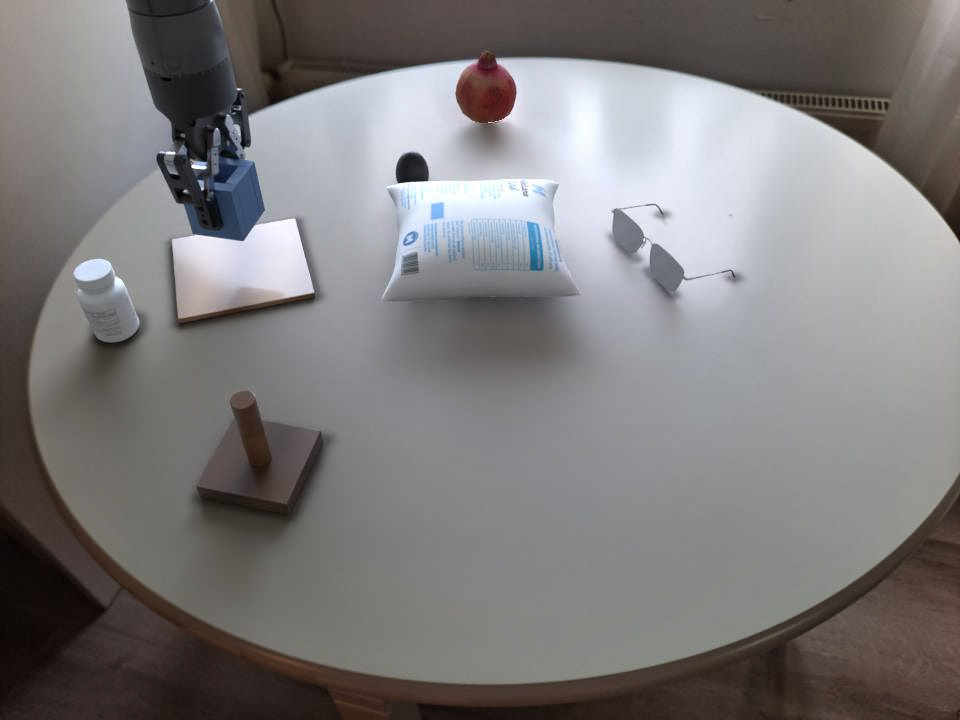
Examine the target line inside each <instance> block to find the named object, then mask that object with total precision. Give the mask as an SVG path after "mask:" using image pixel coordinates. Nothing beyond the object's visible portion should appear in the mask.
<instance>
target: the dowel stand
mask: <svg viewBox="0 0 960 720" xmlns="http://www.w3.org/2000/svg"><path fill="white" fill-rule="evenodd" d="M229 405H230V409H231V411H232V415H233V421H232V422H231V423H230V426H229V428H228V429H227V431H226V433H225V434H224V436H223V438H222V440H221V442H220V444H219V445H218V447H217V449H216V450H215V452H214V455H213V456H212V458H211V460H209V463H208V465H207V466H206V468H205V470H204V472H203V474H202V475H201V477H200V479H199V481H198V483H197V484H196V486H195V487H196V490H197V492H198V495H199V497H200V498H203V499H204V498H205V499H210V500H215V501H219V502H225V503H230V504H234V505H239V506H244V507H250V508H255V509H260V510H263V511H264V510H265V511H270V512H275V513H280V514H285V515H290V514H291V513H292V510H293V508H294V506H295V504H296V501H297V499H298V497H299V495H300V492H301V490H302V488H303V487H304V484H305V482H306V479H307V477H308V475H309V472H310V470H311V468H312V466H313V464H314V462H315V460H316V457H317V456H318V453H319V450H320V448H321V446H322V444H323V442H324V439H323V434H322V430H320V429H316V428H312V427H311V428H310V427H305V426H299V425H293V424H289V423H283V422H278V421H271V420H266V419H263V417H262V414H261V411H260V408H259V404H258V401H257V397H256V394H255V393H254V392H252V391H250V390H246V389H245V390H244V389H243V390H238V391H236V392H235V393H234V394H232V395H231V396H230V399H229Z"/></svg>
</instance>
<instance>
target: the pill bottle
mask: <svg viewBox="0 0 960 720" xmlns="http://www.w3.org/2000/svg"><path fill="white" fill-rule="evenodd" d="M73 277H74V281H75V283H76V285H77V287H78V290H77V294H76V295H77V300H78V302H79V305H80V307H81V309H82V311H83V314H84V315H85V318H86V320H87V322H88V324H89V326H90V328H91V330H92V332H93V334H94V336H95V337H96V338H97V339H98V340H99V341H101V342H104V343H119V342H123V341H125V340H128V339H129V338H130V337H132V336H133V335H134V334H136V332H137V331H138V330H139V327H140V319H139V316H138V314H137V311H136V309H135V306H134V304H133V302H132V299H131V297H130V294H129V292H128V289H127V287H126V284H125V283H124V281H123V280H122V279H121V278H119V277H117V276H116V272H115V270H114V268H113V266H112V264H111V262H109V261H108V260H106V259H103V258H93V259H88V260H86V261H84V262H82V263H80V264H79V265H77V266H76V267H75V269H74V271H73Z"/></svg>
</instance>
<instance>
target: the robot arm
mask: <svg viewBox="0 0 960 720" xmlns="http://www.w3.org/2000/svg"><path fill="white" fill-rule="evenodd" d="M125 3H126V8H127V11H128V18H129V23H130V29H131V34H132V37H133V41H134V44H135V47H136V51H137V54H138V57H139V60H140V63H141V67H142V70H143V74H144V76H145V77H144V78H145V80H146V83H147V86H148V87H147V88H148V91H149V93H150V96H151V99H152V102H153V105H154V107H155V109H156V110H157V111H158V112H160V113H161V114H162V115H163V116H164V117H166V119H168V121H169V123H170V127H171V140H172V145H171V146H170V148H169V150H168V151H158V152H157V154H156V159H155V161H156V163H157V165H158V167H159V170H160V172H161V174H162V176H163V178H164V180H165V182H166V184H167V187H168V189H169V191H170V194H171V195H172V197H173V199H174V201H175V203H176V204H178V205H184V204H187V205H194V208H195V212H196V215H197V218H198V222H199V225H200V226H201V227H202V228H204V229H207V230H214V231H220V230H221V228H222V227H223V225H224V224H223V221H222V217H221V213H220V210H219V206H218V202H217V199H216V197H215V185H214V178H215V176H217V175H218V174H219V159H218V157H226V158H234V159H241V160H246V152H245V149H246V148H250V147H251V146H252V136H251V135H252V134H251V127H250V120H249V111H248V104H247V103H248V102H247V97H246V91H245V89H244V88H238V86H237V82H236V78H235V73H234V69H233V65H232V60H231V56H230V51H229V48H228V42H227V37H226V33H225V29H224V25H223V20H222V18H221V15H220V11H219V9H218V7H217V4H216V1H215V0H125ZM235 125H237V126H238V127H239V131H240V134H239V132H238V130H237V128H236V127H235ZM194 161H195V162H197V161H199V162H207V167H202V166H195V164H194ZM196 176H201V177H202V178H203V180H204V188H202V187H200V185H199V182H198V180H197V178H196ZM184 189H185V190H184Z"/></svg>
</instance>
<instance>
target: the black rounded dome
mask: <svg viewBox="0 0 960 720" xmlns="http://www.w3.org/2000/svg"><path fill="white" fill-rule="evenodd" d="M395 179H396V182H397V184H401V183H409V182H429V179H430V169H429V166H428V163H427V161H426V159H425V158H424V156H423V155H422V153H419V152H418V151H416V150H414V149H410V150H406V151H405V152H403V153H402V154H401V155H400V157H399V158H398V160H397V163H396V165H395Z"/></svg>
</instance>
